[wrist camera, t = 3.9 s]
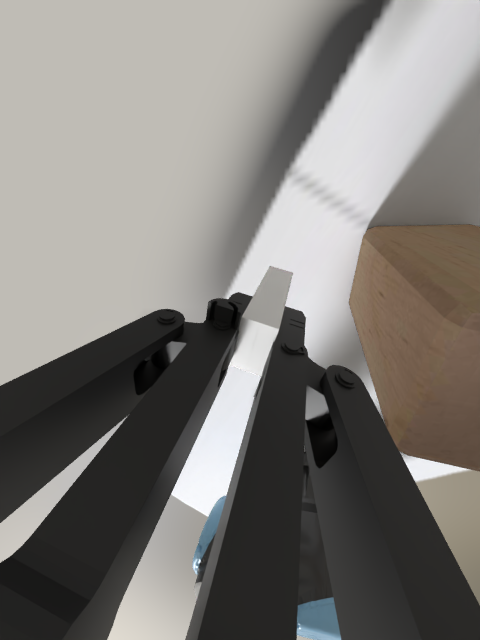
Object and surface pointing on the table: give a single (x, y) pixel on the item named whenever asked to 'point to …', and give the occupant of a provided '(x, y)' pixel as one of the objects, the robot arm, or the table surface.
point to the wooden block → (423, 336)
